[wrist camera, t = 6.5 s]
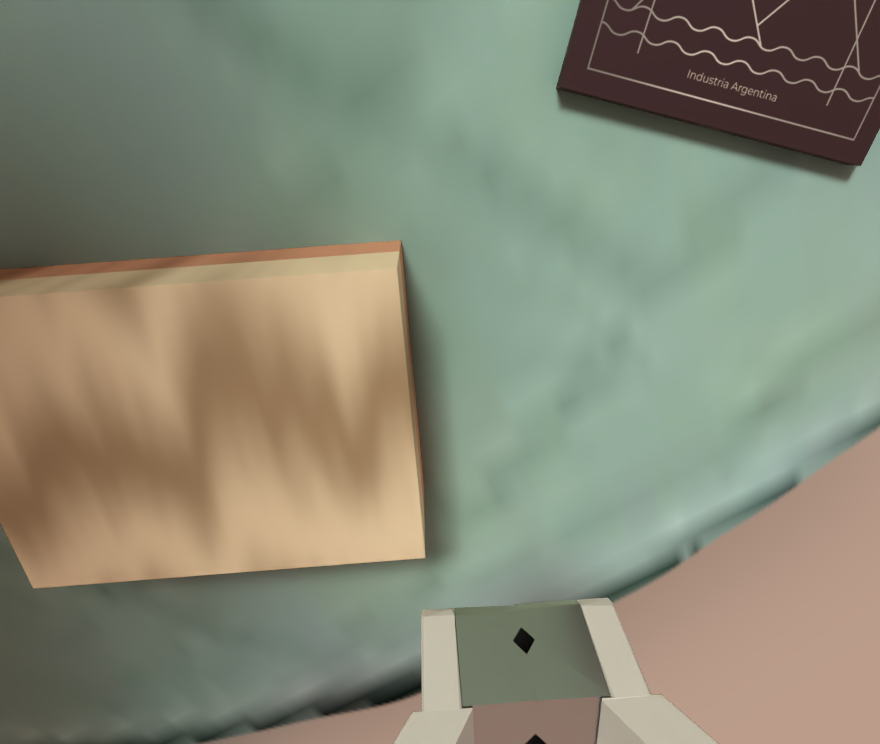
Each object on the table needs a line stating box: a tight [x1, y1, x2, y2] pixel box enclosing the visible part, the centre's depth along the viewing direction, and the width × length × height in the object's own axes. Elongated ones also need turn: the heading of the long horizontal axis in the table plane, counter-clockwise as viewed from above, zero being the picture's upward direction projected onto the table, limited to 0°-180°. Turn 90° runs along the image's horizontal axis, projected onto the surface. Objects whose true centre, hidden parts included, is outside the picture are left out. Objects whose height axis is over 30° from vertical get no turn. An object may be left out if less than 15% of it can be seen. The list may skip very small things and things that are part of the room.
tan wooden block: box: [0, 240, 425, 589], centre depth 16 cm, size 9×4×12 cm
